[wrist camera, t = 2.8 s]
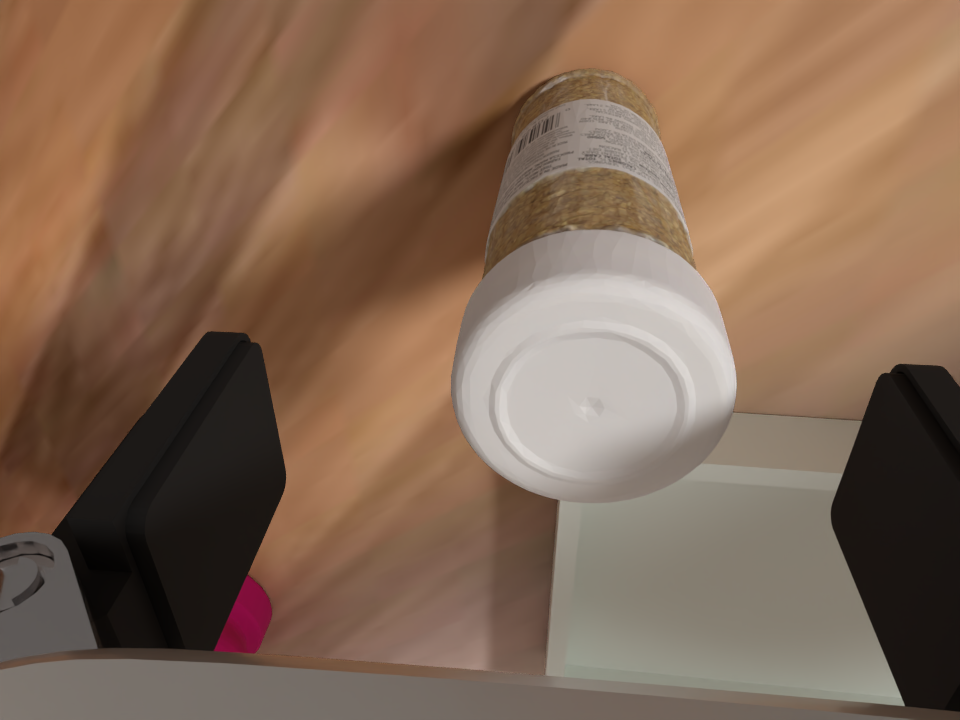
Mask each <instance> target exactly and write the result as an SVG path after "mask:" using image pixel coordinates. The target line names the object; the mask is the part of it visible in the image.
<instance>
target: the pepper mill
mask: <svg viewBox="0 0 960 720" xmlns="http://www.w3.org/2000/svg"><path fill="white" fill-rule="evenodd" d="M271 617H272V608H271V604H270V600H269V598H268V596H267V595H266V593H265V592H264V590H263V588H262V587H261V586H260V585H259V584H257V583H256V582H255V581H254V580H253V579H252V578H251V577H250V576H248V575H247V577H246V579H245V581H244V583H243V586H242V588H241V590H240V593H239V595H238V597H237V599H236V602H235V604H234V606H233V608H232V611H231V613H230V615H229V618H228V620H227V622H226V624H225V627H224V629H223V631H222V633H221V636H220V638H219V640H218V643H217V645H216V647H215V649H214V651H218V652H235V653H252V654H255V652H256V651H257V650H258V649H259V647H260V645H261V643H262V640H263V638H264V635H265V633H266V630H267V628H268V625H269V623H270V620H271Z"/></svg>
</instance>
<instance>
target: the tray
mask: <svg viewBox="0 0 960 720" xmlns="http://www.w3.org/2000/svg"><path fill="white" fill-rule="evenodd" d="M861 423H862V421H855V420H840V419H825V418H810V417H795V416H780V415H764V414H749V413H734V412H733V414H732V417H731V419H730V422H729V425H728V427H727V429H726V431H725V433H724V434H723V436H722V438H721V440H720V441H719V443H718V444H717V446H716V447H715V448H714V450H713V451H712V452H711V453H710V454H709V456H708V457H707V458H706V459H705V460H704V461H703V462H702V463H701V464H700V465H699V466H697V467H696V468H695V469H694V470H693V471H691V472H690V473H689V474H687V475H686V476H684V477H683V478H681V479H680V480H678V481H676V482H675V483H673V484H671V485H669V486H667V487H665V488H663V489H660V490H658V491H655V492H653V493H650V494H648V495H645V496H642V497H638V498H634V499H630V500H624V501H618V502H611V503H577V502H569V501H562V500H558V501H557V514H556V527H555V540H554V553H553V565H552V578H551V591H550V604H549V616H548V629H547V642H546V655H545V676H558V677H570V678H582V679H595V680H607V681H619V682H631V683H644V684H656V685H668V686H680V687H692V688H704V689H715V690H727V691H738V692H750V693H762V694H773V695H785V696H796V697H808V698H820V699H831V700H843V701H854V702H866V703H877V704H887V705H897V706H905V705H904V702H903V700H902V697H901V695H900V692H899V690H898V687H897V685H896V683H895V680H894V678H893V675H892V673H891V670H890V668H889V665H888V663H887V661H886V658H885V656H884V653H883V651H882V648H881V646H880V643H879V641H878V638H877V636H876V634H875V631H874V629H873V626H872V624H871V621H870V619H869V616H868V614H867V612H866V609H865V607H864V604H863V602H862V599H861V597H860V594H859V592H858V589H857V587H856V585H855V582H854V580H853V577H852V575H851V572H850V570H849V567H848V565H847V563H846V560H845V558H844V555H843V553H842V550H841V548H840V545H839V543H838V540H837V538H836V536H835V533H834V531H833V528H832V524H831V506H832V503H833V500H834V497H835V494H836V492H837V489H838V486H839V483H840V481H841V478H842V475H843V472H844V470H845V467H846V464H847V461H848V459H849V456H850V453H851V450H852V448H853V445H854V442H855V439H856V437H857V434H858V431H859V429H860V426H861Z"/></svg>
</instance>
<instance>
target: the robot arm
mask: <svg viewBox="0 0 960 720" xmlns="http://www.w3.org/2000/svg"><path fill="white" fill-rule="evenodd" d="M285 483H286V470H285V464H284V459H283V454H282V449H281V444H280V439H279V434H278V429H277V424H276V419H275V414H274V409H273V404H272V399H271V394H270V389H269V384H268V379H267V374H266V369H265V364H264V359H263V354H262V350H261V347H260V345H259V344H258V343H252V342H251V341H250V339H249V337H248V335H247V334H245V333H234V332H213V331H211V332H207V333H206V334H205V335H204V336H203V337H202V338H201V340H200V341H199V342H198V344H197V345H196V346H195V348H194V349H193V350H192V352H191V353H190V354H189V356H188V357H187V358H186V360H185V361H184V362H183V364H182V365H181V366H180V368H179V369H178V370H177V372H176V373H175V374H174V375H173V377H172V378H171V379H170V381H169V382H168V383H167V385H166V386H165V387H164V389H163V390H162V391H161V393H160V394H159V395H158V397H157V398H156V399H155V401H154V402H153V403H152V405H151V406H150V407H149V409H148V410H147V411H146V413H145V414H144V415H143V416H142V417H141V418H140V419H139V420H138V421H137V423H136V424H135V425H134V426H133V428H132V429H131V430H130V432H129V433H128V434H127V436H126V437H125V438H124V440H123V441H122V442H121V444H120V445H119V446H118V448H117V449H116V450H115V452H114V453H113V454H112V455H111V457H110V458H109V459H108V461H107V462H106V463H105V465H104V466H103V467H102V469H101V470H100V471H99V473H98V474H97V475H96V477H95V478H94V479H93V481H92V482H91V483H90V485H89V486H88V487H87V488H86V490H85V491H84V492H83V494H82V495H81V496H80V498H79V499H78V500H77V502H76V503H75V504H74V506H73V507H72V508H71V510H70V511H69V512H68V514H67V515H66V516H65V518H64V519H63V520H62V521H61V523H60V524H59V525H58V527H57V528H56V529H55V531H54V532H53V533H52V535H50V534H45V533H38V532H27V533H17V534H12V535H9V536H5V537H2V538H0V720H960V387H959V386H958V384H957V383H956V382H955V380H954V379H953V378H952V376H951V375H950V374H949V373H948V371H947V370H946V369H945V368H943V367H941V366H933V365H912V364H899V365H896V366H895V367H894V368H893V369H892V370H891V372H890V373H884V374H881V375H880V377H879V378H878V380H877V382H876V385H875V387H874V390H873V393H872V396H871V398H870V401H869V404H868V407H867V409H866V412H865V415H864V418H863V420H862V423H861V426H860V429H859V431H858V434H857V437H856V439H855V442H854V445H853V448H852V450H851V453H850V456H849V459H848V461H847V464H846V467H845V470H844V472H843V475H842V478H841V481H840V483H839V486H838V489H837V492H836V494H835V497H834V500H833V503H832V506H831V524H832V528H833V531H834V533H835V536H836V538H837V540H838V543H839V545H840V548H841V550H842V553H843V555H844V558H845V560H846V563H847V565H848V567H849V570H850V572H851V575H852V577H853V580H854V582H855V585H856V587H857V589H858V592H859V594H860V597H861V599H862V602H863V604H864V607H865V609H866V612H867V614H868V616H869V619H870V621H871V624H872V626H873V629H874V631H875V634H876V636H877V638H878V641H879V643H880V646H881V648H882V651H883V653H884V656H885V658H886V661H887V663H888V665H889V668H890V670H891V673H892V675H893V678H894V680H895V683H896V685H897V687H898V690H899V692H900V695H901V697H902V700H903V702H904V705H905V706H897V705H887V704H877V703H866V702H854V701H843V700H831V699H820V698H808V697H796V696H785V695H773V694H762V693H750V692H738V691H727V690H715V689H704V688H692V687H680V686H668V685H656V684H644V683H631V682H619V681H607V680H595V679H582V678H570V677H558V676H545V675H533V674H520V673H508V672H495V671H483V670H470V669H458V668H444V667H431V666H418V665H405V664H391V663H378V662H365V661H352V660H338V659H325V658H312V657H299V656H285V655H269V654H252V653H235V652H218V651H214V649H215V647H216V645H217V643H218V640H219V638H220V636H221V633H222V631H223V629H224V627H225V624H226V622H227V620H228V618H229V615H230V613H231V611H232V608H233V606H234V604H235V602H236V599H237V597H238V595H239V593H240V590H241V588H242V586H243V583H244V581H245V579H246V577H247V574H248V572H249V570H250V568H251V565H252V563H253V561H254V558H255V556H256V554H257V552H258V549H259V547H260V545H261V543H262V540H263V538H264V536H265V533H266V531H267V529H268V527H269V524H270V522H271V520H272V518H273V515H274V513H275V511H276V508H277V506H278V504H279V502H280V499H281V497H282V495H283V492H284V489H285Z"/></svg>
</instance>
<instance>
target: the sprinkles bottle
mask: <svg viewBox="0 0 960 720" xmlns="http://www.w3.org/2000/svg"><path fill="white" fill-rule="evenodd" d="M736 390H737V380H736V371H735V365H734V359H733V355H732V351H731V347H730V344H729V340H728V337H727V333H726V329H725V326H724V322H723V319H722V315H721V312H720V309H719V306H718V303H717V301H716V299H715V297H714V295H713V293H712V291H711V289H710V288H709V286H708V285H707V283H706V282H705V280H704V279H703V278H702V277H701V275H700V274H699V273H698V272H697V270H696V266H695V262H694V259H693V250H692V244H691V240H690V236H689V232H688V228H687V225H686V221H685V218H684V214H683V211H682V207H681V204H680V200H679V196H678V193H677V189H676V186H675V182H674V179H673V176H672V172H671V169H670V165H669V162H668V159H667V156H666V152H665V150H664V147H663V145H662V143H661V137H660V129H659V125H658V119H657V114H656V111H655V109H654V108H653V106H652V105H651V104H650V102H649V101H648V99H647V97H646V95H645V94H644V93H643V92H642V91H641V90H640V89H639V88H638V87H637V86H636V85H635V84H634V83H633V82H632V81H630V80H628V79H626V78H624V77H622V76H620V75H618V74H616V73H614V72H612V71H604V70H600V69H579V70H574V71H571V72H566V73H563V74H560V75H558V76H555V77H553V78H552V79H550V80H549V81H548V82H547V83H545V84H544V85H542V86H540V87H539V88H538V89H537V90H536V91H535V93H534V94H533V95H532V96H531V97H529V98H528V99H527V100H526V102H525V103H524V105H523V107H522V108H521V110H520V113H519V115H518V117H517V119H516V122H515V124H514V127H513V132H512V144H511V151H510V153H509V156H508V159H507V162H506V165H505V169H504V174H503V178H502V182H501V186H500V190H499V194H498V198H497V202H496V206H495V210H494V214H493V218H492V222H491V226H490V230H489V235H488V239H487V244H486V251H485V267H484V274H483V278H482V281H481V282H480V283H479V285H478V286H477V288H476V289H475V291H474V292H473V294H472V296H471V298H470V300H469V302H468V304H467V307H466V309H465V313H464V316H463V320H462V324H461V328H460V332H459V337H458V341H457V346H456V352H455V357H454V363H453V369H452V375H451V396H452V402H453V407H454V411H455V415H456V418H457V421H458V424H459V426H460V428H461V431H462V433H463V435H464V436H465V438H466V440H467V441H468V443H469V444H470V446H471V447H472V448H473V450H474V451H475V452H476V453H477V455H478V456H479V457H480V458H481V459H482V460H483V461H484V462H485V463H486V464H487V465H488V466H489V467H491V468H492V469H493V470H494V471H495V472H497V473H498V474H499V475H501V476H502V477H504V478H505V479H507V480H509V481H510V482H512V483H514V484H516V485H517V486H519V487H521V488H523V489H525V490H527V491H530V492H533V493H536V494H539V495H542V496H545V497H548V498H552V499H557V500H562V501H569V502H577V503H611V502H618V501H624V500H630V499H634V498H638V497H642V496H645V495H648V494H650V493H653V492H655V491H658V490H660V489H663V488H665V487H667V486H669V485H671V484H673V483H675V482H676V481H678V480H680V479H681V478H683V477H684V476H686V475H687V474H689V473H690V472H691V471H693V470H694V469H695V468H696V467H697V466H699V465H700V464H701V463H702V462H703V461H704V460H705V459H706V458H707V457H708V456H709V454H710V453H711V452H712V451H713V450H714V448H715V447H716V446H717V444H718V443H719V441H720V440H721V438H722V436H723V434H724V433H725V431H726V429H727V427H728V425H729V422H730V419H731V417H732V414H733V410H734V405H735V399H736Z"/></svg>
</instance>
